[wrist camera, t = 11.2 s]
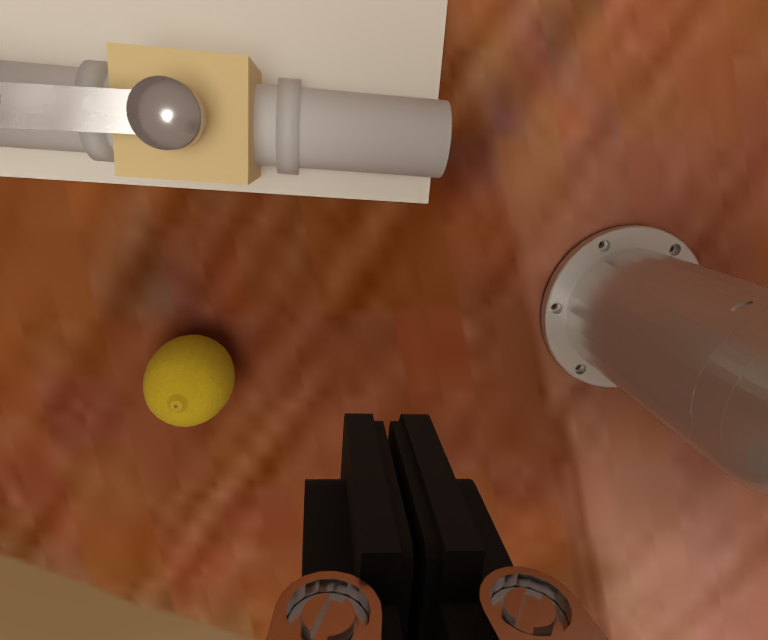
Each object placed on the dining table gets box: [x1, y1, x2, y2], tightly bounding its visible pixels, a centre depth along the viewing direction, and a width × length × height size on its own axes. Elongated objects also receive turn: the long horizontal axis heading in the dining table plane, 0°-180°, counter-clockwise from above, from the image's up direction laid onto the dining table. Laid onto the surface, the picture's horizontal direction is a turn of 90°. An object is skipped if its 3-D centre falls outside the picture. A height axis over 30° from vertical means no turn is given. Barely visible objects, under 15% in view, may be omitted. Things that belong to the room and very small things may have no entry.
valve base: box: [0, 0, 452, 204], centre depth 30 cm, size 28×12×10 cm, turn 86°
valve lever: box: [0, 76, 206, 150], centre depth 24 cm, size 14×3×2 cm, turn 87°
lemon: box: [143, 335, 235, 427], centre depth 36 cm, size 6×6×8 cm
